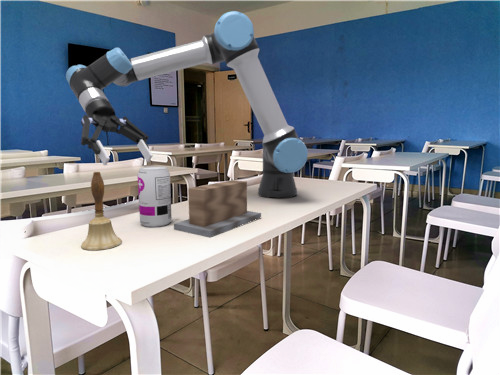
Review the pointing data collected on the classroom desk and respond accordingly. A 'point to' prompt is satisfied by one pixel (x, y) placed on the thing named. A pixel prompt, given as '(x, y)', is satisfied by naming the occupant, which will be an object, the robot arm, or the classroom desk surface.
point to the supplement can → (154, 196)
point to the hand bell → (99, 221)
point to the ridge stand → (217, 208)
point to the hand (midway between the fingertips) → (129, 160)
